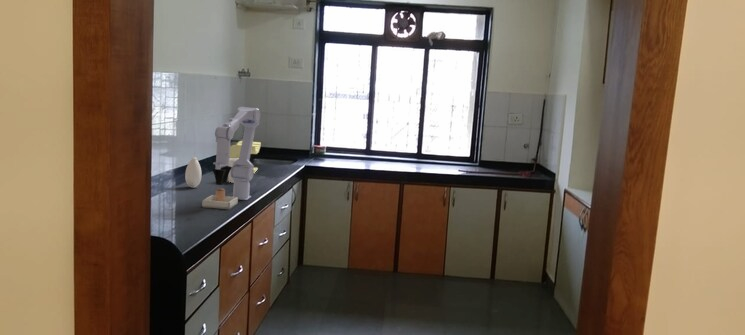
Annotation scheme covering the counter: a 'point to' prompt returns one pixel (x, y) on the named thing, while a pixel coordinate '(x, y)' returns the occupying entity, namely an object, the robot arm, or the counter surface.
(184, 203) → the counter surface
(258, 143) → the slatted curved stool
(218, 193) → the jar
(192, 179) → the white tall oval piece
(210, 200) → the tray
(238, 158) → the foam cup
